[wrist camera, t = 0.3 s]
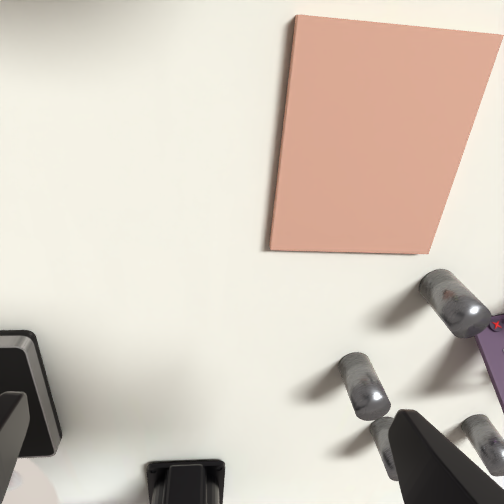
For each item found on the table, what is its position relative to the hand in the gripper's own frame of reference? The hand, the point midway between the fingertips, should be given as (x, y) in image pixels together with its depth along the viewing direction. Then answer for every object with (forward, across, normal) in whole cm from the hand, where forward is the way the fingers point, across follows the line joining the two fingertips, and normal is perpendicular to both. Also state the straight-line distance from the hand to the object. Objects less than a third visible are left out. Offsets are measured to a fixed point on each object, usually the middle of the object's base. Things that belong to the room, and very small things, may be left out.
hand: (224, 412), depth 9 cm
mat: (+14, -8, -4) cm, 17 cm away
